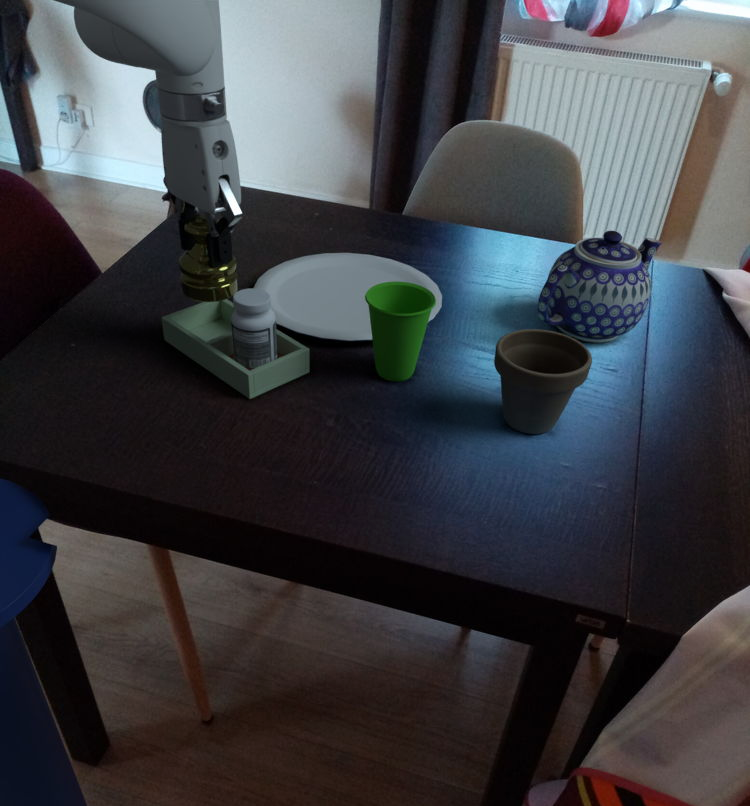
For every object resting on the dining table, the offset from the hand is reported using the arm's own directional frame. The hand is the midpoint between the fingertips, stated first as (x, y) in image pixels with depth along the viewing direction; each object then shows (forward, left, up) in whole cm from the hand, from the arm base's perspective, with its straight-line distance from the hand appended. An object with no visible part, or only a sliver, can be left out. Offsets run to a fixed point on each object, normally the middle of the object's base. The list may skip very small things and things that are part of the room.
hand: (206, 253), depth 101 cm
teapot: (+46, -32, -13) cm, 57 cm away
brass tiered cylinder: (0, 0, -5) cm, 5 cm away
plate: (+23, -3, -13) cm, 27 cm away
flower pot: (+19, -41, -13) cm, 47 cm away
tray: (0, -5, -13) cm, 14 cm away
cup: (+14, -22, -13) cm, 29 cm away
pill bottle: (0, -9, -12) cm, 15 cm away
